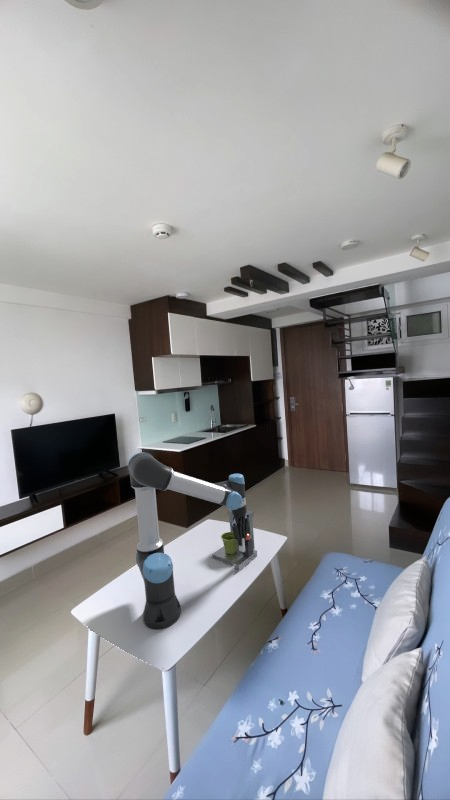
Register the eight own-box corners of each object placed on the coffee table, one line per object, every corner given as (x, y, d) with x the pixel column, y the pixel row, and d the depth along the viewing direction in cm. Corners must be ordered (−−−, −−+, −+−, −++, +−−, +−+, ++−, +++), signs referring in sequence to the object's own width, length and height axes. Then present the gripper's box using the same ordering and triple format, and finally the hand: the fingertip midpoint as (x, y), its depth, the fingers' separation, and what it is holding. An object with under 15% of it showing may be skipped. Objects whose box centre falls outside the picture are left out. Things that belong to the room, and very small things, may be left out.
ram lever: (248, 557, 163) (247, 536, 162) (242, 555, 165) (241, 534, 165) (253, 553, 166) (251, 532, 165) (247, 551, 168) (245, 531, 168)
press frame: (239, 571, 157) (236, 531, 156) (209, 559, 169) (206, 522, 168) (264, 550, 175) (261, 513, 173) (236, 540, 187) (233, 506, 186)
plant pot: (219, 550, 174) (218, 534, 174) (234, 545, 178) (233, 530, 178) (226, 558, 166) (225, 542, 165) (242, 552, 170) (241, 537, 169)
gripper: (236, 511, 153) (240, 559, 154) (252, 502, 163) (255, 546, 164) (224, 508, 158) (228, 554, 159) (240, 499, 168) (243, 543, 169)
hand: (242, 550), depth 162 cm, fingers closed
